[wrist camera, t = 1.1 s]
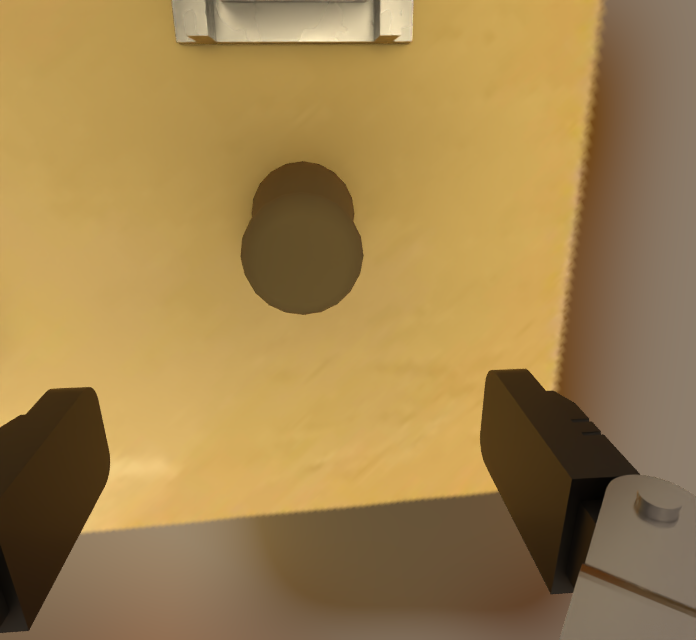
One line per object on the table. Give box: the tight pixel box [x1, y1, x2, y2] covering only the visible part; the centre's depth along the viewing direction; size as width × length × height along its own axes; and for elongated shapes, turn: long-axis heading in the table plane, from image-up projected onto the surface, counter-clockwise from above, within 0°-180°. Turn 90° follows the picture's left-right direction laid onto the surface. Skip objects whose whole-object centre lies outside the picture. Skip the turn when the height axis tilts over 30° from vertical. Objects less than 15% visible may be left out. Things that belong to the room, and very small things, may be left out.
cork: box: [241, 161, 363, 315], centre depth 26 cm, size 6×6×11 cm
